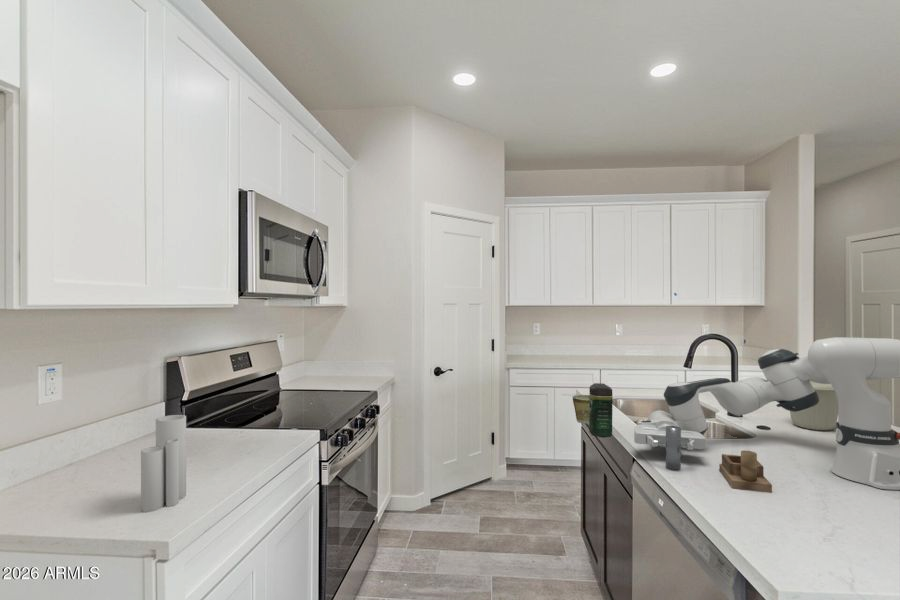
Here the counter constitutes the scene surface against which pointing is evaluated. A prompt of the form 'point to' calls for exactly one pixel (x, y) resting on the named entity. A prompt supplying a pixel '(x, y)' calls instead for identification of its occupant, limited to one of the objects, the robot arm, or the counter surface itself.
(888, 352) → the robot arm
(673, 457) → the grey metal pin
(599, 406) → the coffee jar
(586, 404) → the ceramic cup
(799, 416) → the beige round tub
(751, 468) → the walnut housing
